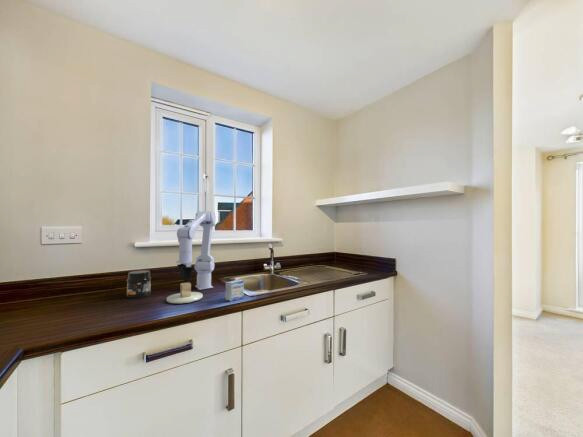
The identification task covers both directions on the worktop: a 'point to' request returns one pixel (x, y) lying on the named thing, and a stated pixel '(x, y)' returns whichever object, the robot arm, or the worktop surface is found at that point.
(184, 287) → the tan rectangular block
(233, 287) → the medicine box
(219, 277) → the worktop surface
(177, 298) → the sage dish
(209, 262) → the robot arm
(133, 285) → the supplement container
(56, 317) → the worktop surface
